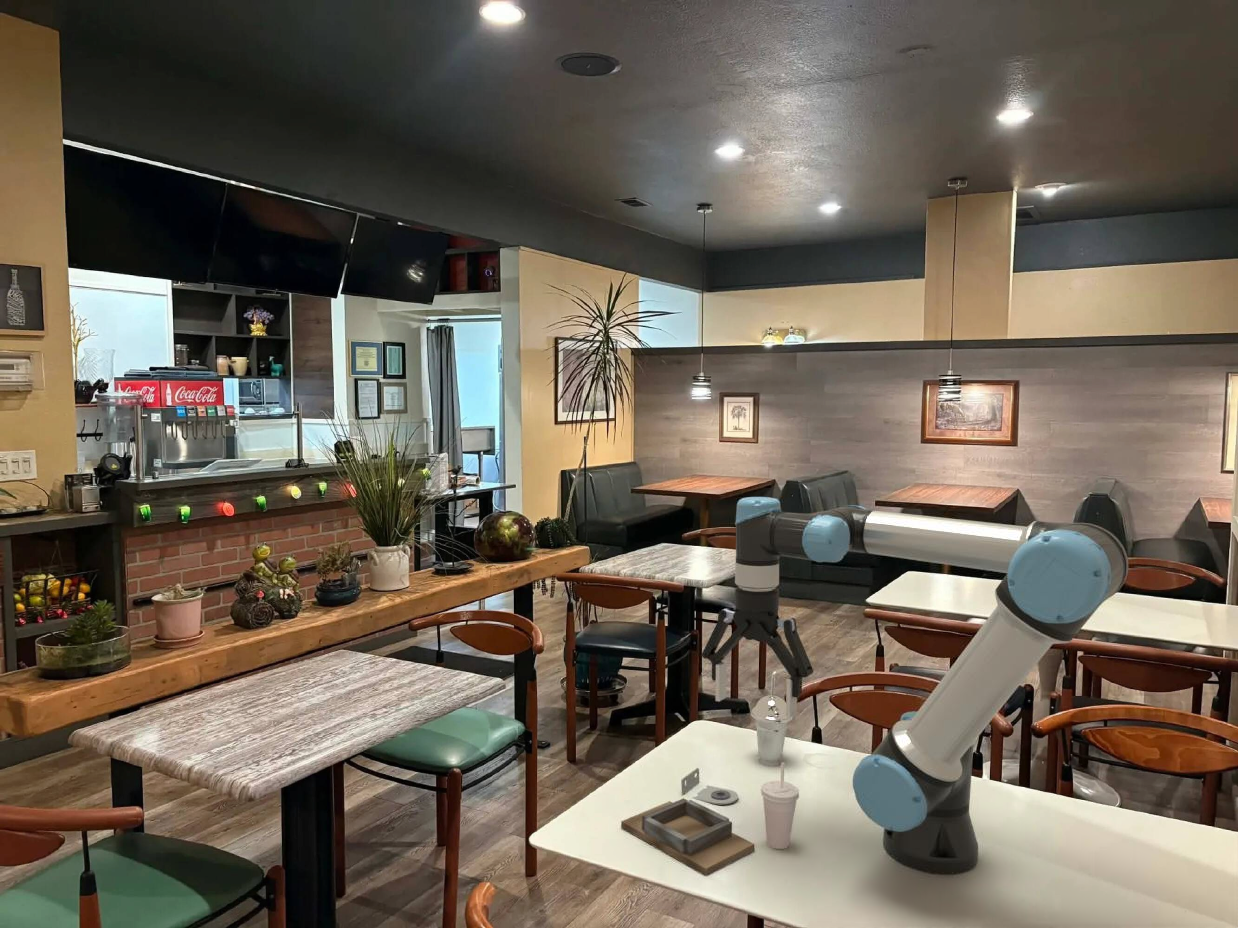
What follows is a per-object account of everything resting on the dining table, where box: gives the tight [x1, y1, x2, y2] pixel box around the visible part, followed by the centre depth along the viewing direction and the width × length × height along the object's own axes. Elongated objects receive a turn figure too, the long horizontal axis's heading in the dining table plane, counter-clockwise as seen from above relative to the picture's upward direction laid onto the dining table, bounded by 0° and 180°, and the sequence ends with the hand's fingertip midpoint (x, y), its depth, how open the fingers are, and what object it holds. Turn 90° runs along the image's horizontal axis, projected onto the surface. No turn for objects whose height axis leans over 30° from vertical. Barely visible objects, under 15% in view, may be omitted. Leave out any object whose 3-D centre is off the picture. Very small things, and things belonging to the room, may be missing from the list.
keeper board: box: [620, 798, 756, 877], centre depth 154 cm, size 20×12×4 cm, turn 42°
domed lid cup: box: [750, 667, 794, 767], centre depth 186 cm, size 8×9×20 cm
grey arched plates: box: [680, 767, 739, 806], centre depth 171 cm, size 7×10×4 cm, turn 57°
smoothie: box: [760, 761, 800, 850], centre depth 153 cm, size 6×6×14 cm
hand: (755, 706), depth 157 cm, fingers open, 13 cm apart
